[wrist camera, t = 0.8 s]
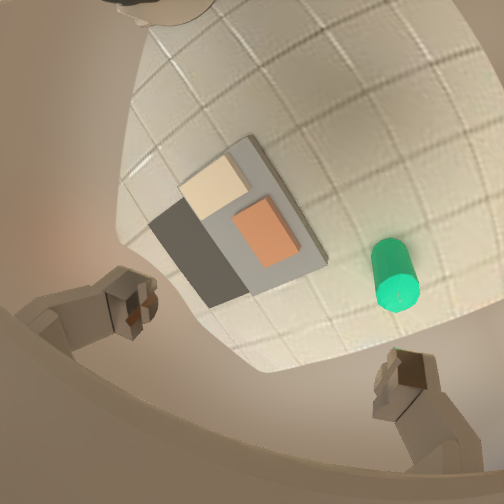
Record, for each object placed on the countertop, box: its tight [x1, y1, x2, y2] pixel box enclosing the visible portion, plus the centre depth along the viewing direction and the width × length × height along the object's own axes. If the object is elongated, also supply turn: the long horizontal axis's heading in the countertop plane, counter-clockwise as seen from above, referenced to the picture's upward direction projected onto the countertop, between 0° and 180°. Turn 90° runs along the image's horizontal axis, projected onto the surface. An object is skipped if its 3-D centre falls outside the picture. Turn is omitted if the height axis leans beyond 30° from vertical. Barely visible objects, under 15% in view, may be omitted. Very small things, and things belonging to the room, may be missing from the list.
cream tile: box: [179, 153, 252, 220], centre depth 43 cm, size 9×6×2 cm, turn 125°
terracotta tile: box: [231, 195, 301, 268], centre depth 44 cm, size 9×6×2 cm, turn 35°
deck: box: [177, 135, 328, 296], centre depth 46 cm, size 22×14×2 cm, turn 35°
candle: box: [371, 238, 420, 313], centre depth 38 cm, size 6×6×12 cm
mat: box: [148, 198, 250, 308], centre depth 53 cm, size 20×11×1 cm, turn 35°
